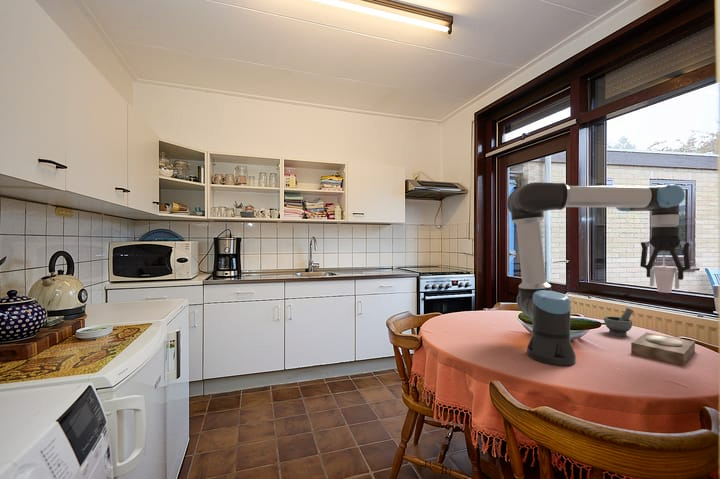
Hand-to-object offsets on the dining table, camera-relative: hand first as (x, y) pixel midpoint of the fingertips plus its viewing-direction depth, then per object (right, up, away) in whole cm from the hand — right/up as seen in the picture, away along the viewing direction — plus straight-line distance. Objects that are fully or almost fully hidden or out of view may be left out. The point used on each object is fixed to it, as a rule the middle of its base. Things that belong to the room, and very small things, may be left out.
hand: (664, 287), depth 119 cm
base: (0, -25, 0) cm, 25 cm away
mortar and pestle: (+2, -25, +23) cm, 34 cm away
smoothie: (0, -2, 0) cm, 2 cm away
